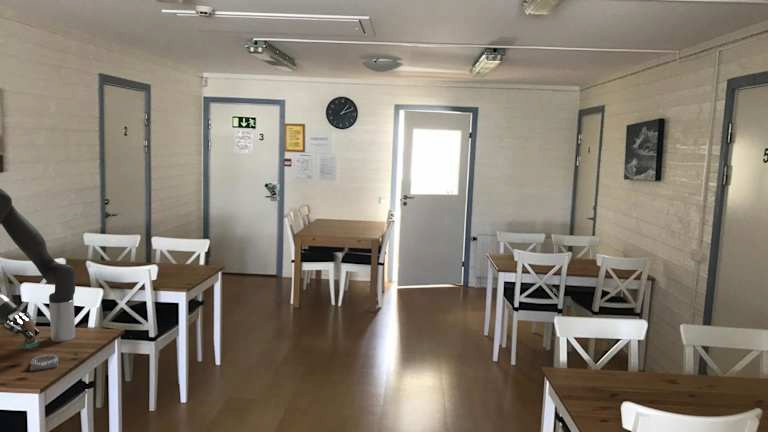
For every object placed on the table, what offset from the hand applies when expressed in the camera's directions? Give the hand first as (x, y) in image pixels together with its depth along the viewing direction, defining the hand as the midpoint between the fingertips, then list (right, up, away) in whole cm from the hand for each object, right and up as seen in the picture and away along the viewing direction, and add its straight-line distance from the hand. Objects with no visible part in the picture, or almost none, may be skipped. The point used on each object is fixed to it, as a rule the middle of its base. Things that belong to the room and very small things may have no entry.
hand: (34, 335), depth 223 cm
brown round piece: (-2, -4, +1) cm, 5 cm away
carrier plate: (+6, -10, -4) cm, 13 cm away
